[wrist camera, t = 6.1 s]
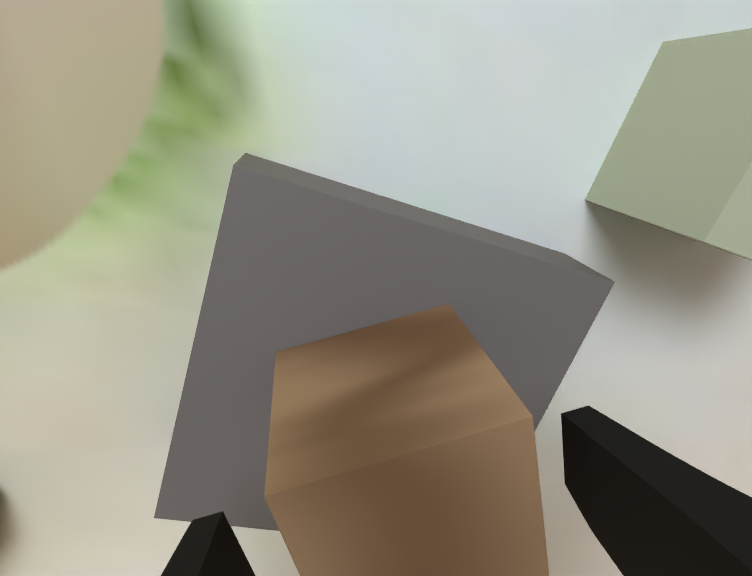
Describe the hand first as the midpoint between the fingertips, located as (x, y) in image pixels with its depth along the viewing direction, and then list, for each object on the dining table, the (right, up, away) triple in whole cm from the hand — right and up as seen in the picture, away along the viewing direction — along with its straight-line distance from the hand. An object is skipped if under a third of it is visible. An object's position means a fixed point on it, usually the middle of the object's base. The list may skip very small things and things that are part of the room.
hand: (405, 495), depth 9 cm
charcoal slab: (-1, +2, +6) cm, 6 cm away
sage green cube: (+9, +8, +4) cm, 13 cm away
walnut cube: (0, +1, +3) cm, 3 cm away
